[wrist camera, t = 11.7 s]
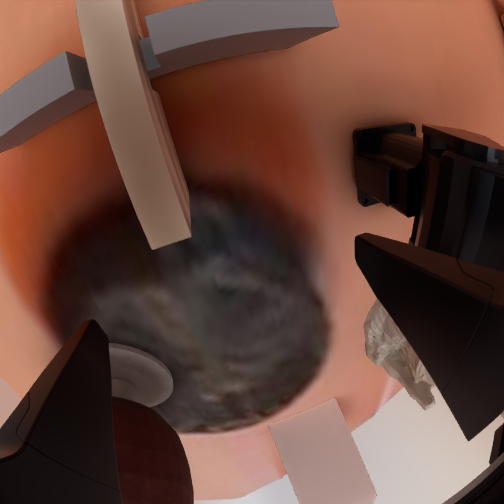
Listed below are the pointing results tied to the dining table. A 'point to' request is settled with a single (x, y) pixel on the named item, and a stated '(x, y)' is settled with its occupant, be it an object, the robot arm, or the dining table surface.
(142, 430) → the mate gourd
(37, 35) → the dining table surface
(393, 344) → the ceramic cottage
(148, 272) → the dining table surface
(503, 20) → the rough brown rock
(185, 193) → the long wooden slat
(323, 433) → the milk
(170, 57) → the grey notched bar
